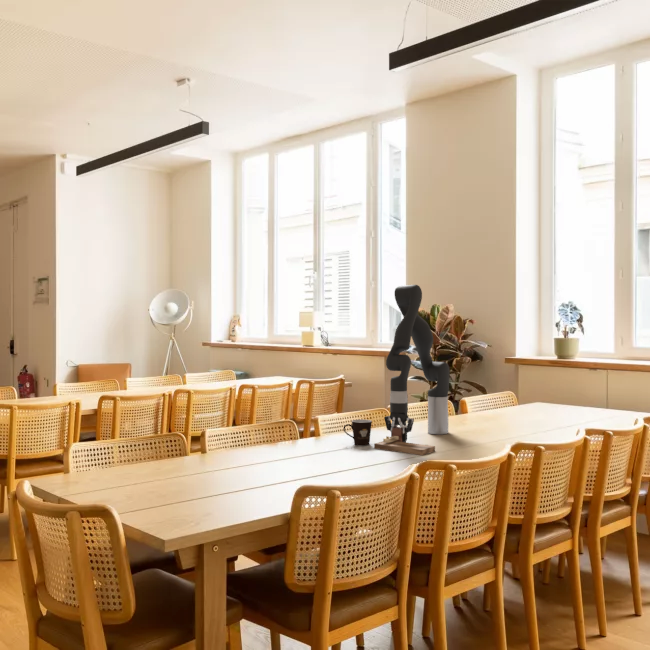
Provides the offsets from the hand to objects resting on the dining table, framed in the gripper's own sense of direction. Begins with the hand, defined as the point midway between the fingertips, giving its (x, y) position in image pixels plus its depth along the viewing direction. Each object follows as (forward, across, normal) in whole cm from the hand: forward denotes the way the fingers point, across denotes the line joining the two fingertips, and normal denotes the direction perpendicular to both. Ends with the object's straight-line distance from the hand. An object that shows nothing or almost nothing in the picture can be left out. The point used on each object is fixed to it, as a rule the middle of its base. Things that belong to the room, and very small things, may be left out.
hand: (399, 441), depth 305 cm
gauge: (+1, 0, +4) cm, 4 cm away
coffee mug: (+2, +15, +8) cm, 18 cm away
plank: (+2, -7, +8) cm, 11 cm away
